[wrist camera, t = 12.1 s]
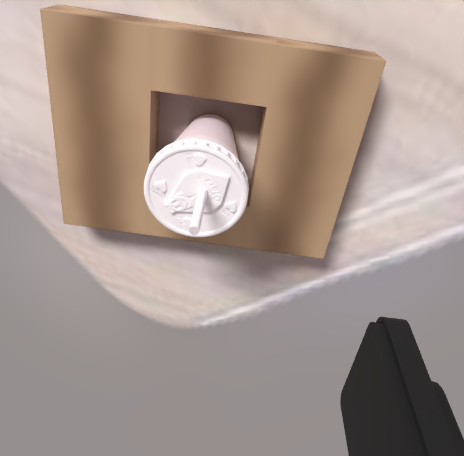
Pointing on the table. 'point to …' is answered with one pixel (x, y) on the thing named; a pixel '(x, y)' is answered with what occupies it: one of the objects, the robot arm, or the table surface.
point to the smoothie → (198, 180)
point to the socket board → (211, 87)
